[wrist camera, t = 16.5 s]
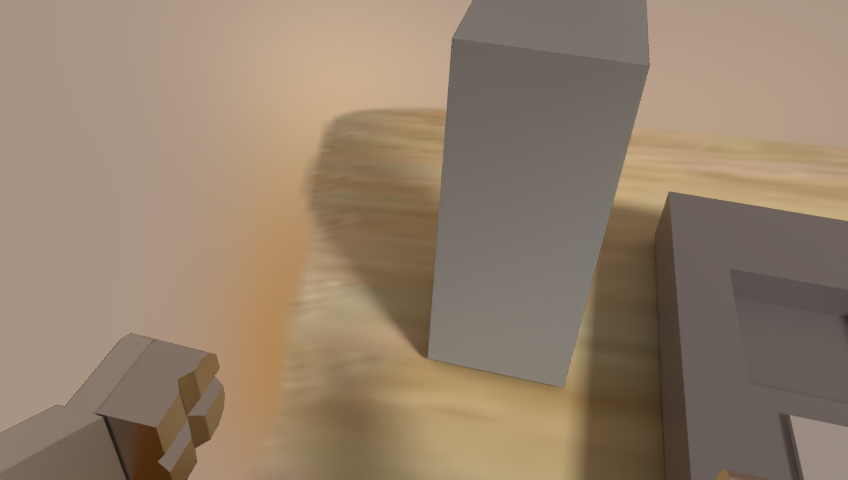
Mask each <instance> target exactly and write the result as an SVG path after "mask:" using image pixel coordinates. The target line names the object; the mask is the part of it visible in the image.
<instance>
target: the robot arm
mask: <svg viewBox="0 0 848 480" xmlns="http://www.w3.org/2000/svg"><path fill="white" fill-rule="evenodd" d="M218 370H219V363H218V360H217V356H216V354H212V353H208V352H204V351H200V350H196V349H192V348H188V347H185V346H181V345H176V344H172V343H168V342H164V341H160V340H157V339H153V338H149V337H144V336H140V335H136V334H132V333H130V334H129V335H127V336H125V337H123V338H122V339H120V340H119V342H118V343H117V344H116V345H115V346H114V348H113V349H112V350H111V351H110V352H109V354H108V355H107V356H106V357H105V359H104V360H103V361H102V362H101V363H100V365H99V366H98V367H97V368H96V369H95V371H94V372H93V373H92V374H91V376H90V377H89V378H88V379H87V381H85V383H84V384H83V385H82V386H81V388H80V389H79V390H78V391H77V392H76V394H75V395H74V396H73V397H72V398H71V400H70V401H69V402H68V403H67V404H66V406H60V405H55V406H53V407H51V408H49V409H47V410H45V411H43V412H41V413H39V414H38V415H35V416H33V417H31V418H29V419H27V420H25V421H23V422H21V423H19V424H17V425H15V426H13V427H11V428H9V429H7V430H5V431H3V432H1V433H0V480H187V479H188V477H189V475H190V473H191V472H192V470H193V468H194V467H195V465H196V463H197V456H196V450H195V448H197V447H198V446H200V445H202V444H203V443H205V442H207V441H209V440H210V439H211V437H212V436H213V434H214V432H215V430H216V428H217V427H218V425H219V422H220V419H221V415H222V412H223V409H224V399H225V394H224V388H223V385H222V384H221V383H220V382H219V381H218V380H217V379H216V378H215V375H216V373H217V371H218ZM715 480H774V479H769V478H765V477H760V476H755V475H751V474H746V473H741V472H737V471H732V470H727V469H724V470H722V471H721V472H719V474H718V476H717V477H716V479H715Z"/></svg>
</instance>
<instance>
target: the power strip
mask: <svg viewBox="0 0 848 480" xmlns="http://www.w3.org/2000/svg"><path fill="white" fill-rule="evenodd" d="M655 249H656V272H657V295H658V318H659V341H660V364H661V387H662V410H663V433H664V456H665V479H666V480H715V479H716V477H717V476H718V474H719V472H721V471H722V470H724V469H727V470H732V471H737V472H741V473H746V474H751V475H755V476H760V477H765V478H769V479H774V480H848V221H843V220H837V219H831V218H825V217H819V216H813V215H807V214H801V213H795V212H789V211H783V210H777V209H771V208H765V207H759V206H753V205H747V204H741V203H735V202H729V201H723V200H717V199H711V198H705V197H699V196H693V195H687V194H681V193H675V192H669V193H668V196H667V199H666V202H665V205H664V209H663V212H662V215H661V218H660V221H659V224H658V227H657V230H656V233H655Z"/></svg>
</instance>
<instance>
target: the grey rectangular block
mask: <svg viewBox="0 0 848 480" xmlns="http://www.w3.org/2000/svg"><path fill="white" fill-rule="evenodd" d="M649 66H650V63H649V45H648V24H647V6H646V0H473V1H472V3H471V5H470V7H469V8H468V10H467V12H466V14H465V16H464V18H463V20H462V21H461V23H460V25H459V27H458V28H457V30H456V32H455V34H454V36H453V37H452V47H451V61H450V74H449V86H448V99H447V112H446V125H445V138H444V151H443V164H442V177H441V190H440V204H439V217H438V230H437V243H436V256H435V269H434V282H433V295H432V308H431V321H430V334H429V347H428V359H432V360H436V361H441V362H446V363H450V364H455V365H460V366H464V367H469V368H474V369H479V370H483V371H488V372H493V373H497V374H502V375H507V376H511V377H516V378H521V379H525V380H530V381H535V382H539V383H544V384H549V385H553V386H558V387H563V388H564V385H565V381H566V377H567V373H568V370H569V366H570V362H571V358H572V355H573V351H574V347H575V343H576V340H577V336H578V332H579V328H580V325H581V321H582V317H583V313H584V310H585V306H586V302H587V298H588V295H589V291H590V287H591V283H592V280H593V276H594V272H595V268H596V265H597V261H598V257H599V253H600V250H601V246H602V242H603V238H604V235H605V231H606V227H607V223H608V220H609V216H610V212H611V208H612V205H613V201H614V197H615V193H616V190H617V186H618V182H619V178H620V175H621V171H622V167H623V163H624V160H625V156H626V152H627V148H628V145H629V141H630V137H631V133H632V130H633V126H634V122H635V118H636V115H637V111H638V107H639V103H640V100H641V96H642V92H643V88H644V85H645V81H646V77H647V73H648V70H649Z"/></svg>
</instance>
